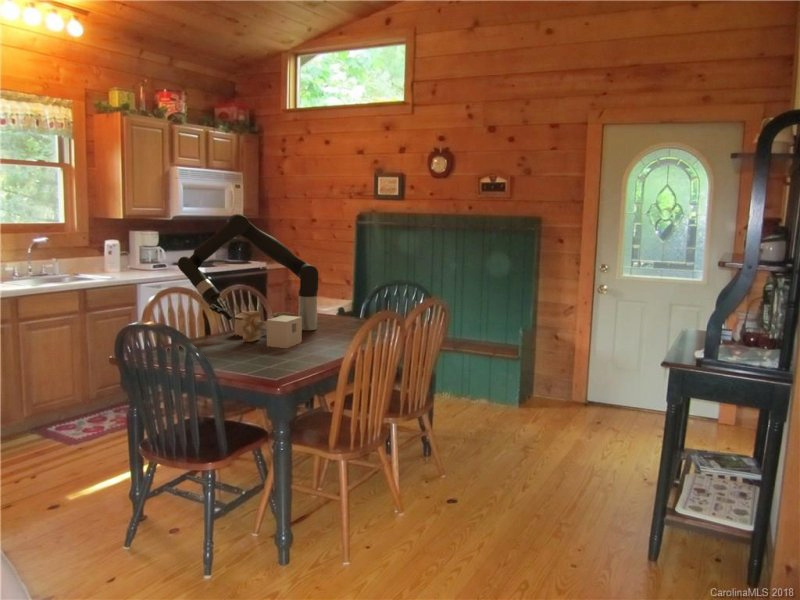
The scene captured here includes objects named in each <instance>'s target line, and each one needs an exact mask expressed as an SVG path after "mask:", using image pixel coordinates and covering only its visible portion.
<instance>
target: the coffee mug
mask: <svg viewBox="0 0 800 600" xmlns="http://www.w3.org/2000/svg"><path fill="white" fill-rule="evenodd" d="M282 315H285V316H295V313H292V312H290V311H289V312H288V311H286V312H284V311H282V312H275V313H273V316H271V317H268V318H267V320H268V319H272V318H275V317H278V316H282ZM267 320H266V321H267Z"/></svg>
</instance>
